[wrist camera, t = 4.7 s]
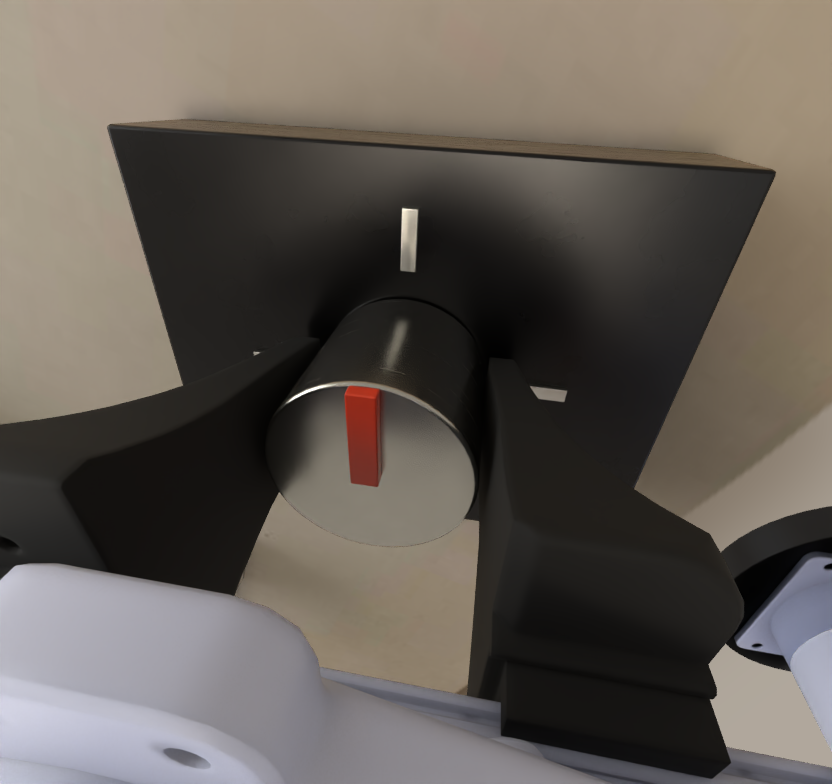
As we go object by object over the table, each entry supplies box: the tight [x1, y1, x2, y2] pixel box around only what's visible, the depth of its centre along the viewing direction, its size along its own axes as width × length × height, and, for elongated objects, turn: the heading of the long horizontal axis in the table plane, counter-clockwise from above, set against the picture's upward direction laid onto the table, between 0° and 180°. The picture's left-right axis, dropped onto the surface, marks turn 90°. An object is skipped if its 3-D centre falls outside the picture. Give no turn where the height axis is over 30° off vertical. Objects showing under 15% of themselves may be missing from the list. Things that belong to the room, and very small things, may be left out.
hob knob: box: [264, 299, 486, 547], centre depth 10 cm, size 4×4×4 cm
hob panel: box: [107, 119, 776, 521], centre depth 13 cm, size 14×11×3 cm
